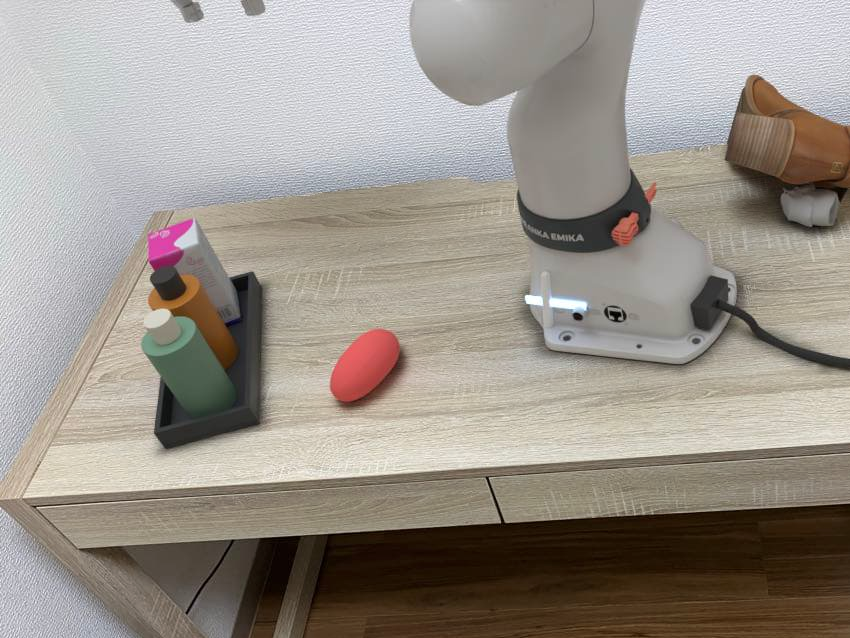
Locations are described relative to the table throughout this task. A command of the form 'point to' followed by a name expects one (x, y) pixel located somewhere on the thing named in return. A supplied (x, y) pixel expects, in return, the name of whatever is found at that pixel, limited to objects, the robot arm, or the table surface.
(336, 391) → the stress ball
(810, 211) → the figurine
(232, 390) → the sage bottle
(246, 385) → the tray
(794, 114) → the boot
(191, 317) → the amber bottle
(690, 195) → the table surface
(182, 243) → the supplement box
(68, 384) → the table surface
